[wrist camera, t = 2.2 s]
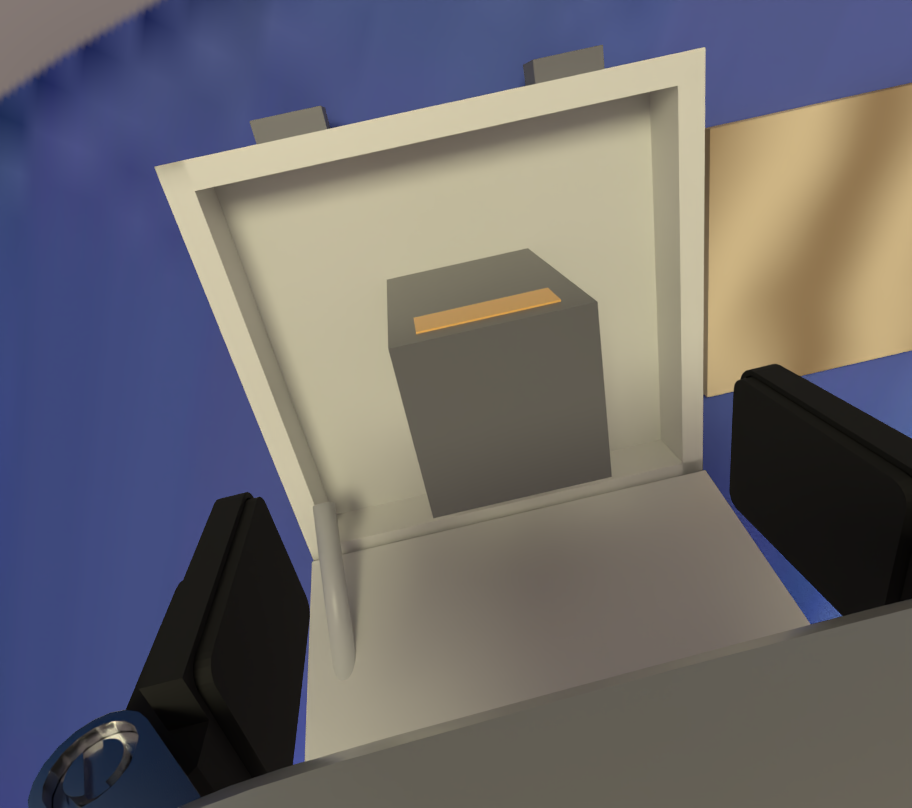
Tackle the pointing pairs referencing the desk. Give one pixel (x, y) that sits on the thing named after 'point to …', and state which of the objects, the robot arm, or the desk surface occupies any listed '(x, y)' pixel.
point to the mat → (808, 237)
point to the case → (383, 416)
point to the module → (499, 379)
